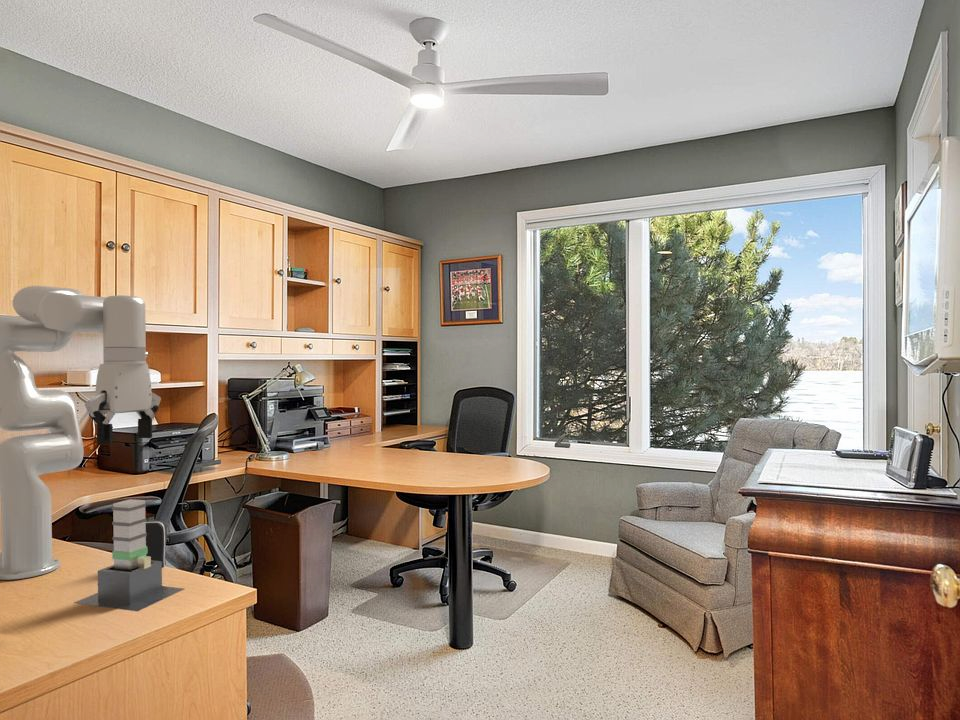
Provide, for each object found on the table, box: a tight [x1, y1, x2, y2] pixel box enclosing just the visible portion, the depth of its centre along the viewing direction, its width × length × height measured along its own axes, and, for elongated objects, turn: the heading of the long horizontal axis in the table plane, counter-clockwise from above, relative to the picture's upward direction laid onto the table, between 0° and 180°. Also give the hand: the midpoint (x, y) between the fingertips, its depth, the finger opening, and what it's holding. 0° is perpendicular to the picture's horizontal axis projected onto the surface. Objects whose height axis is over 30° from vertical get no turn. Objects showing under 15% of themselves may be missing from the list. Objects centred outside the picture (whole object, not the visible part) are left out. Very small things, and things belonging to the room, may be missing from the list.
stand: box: [73, 556, 185, 612], centre depth 126 cm, size 16×12×9 cm
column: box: [111, 498, 148, 570], centre depth 126 cm, size 4×4×13 cm
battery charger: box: [146, 519, 168, 569], centre depth 145 cm, size 7×4×11 cm, turn 99°
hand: (125, 440), depth 127 cm, fingers open, 9 cm apart
